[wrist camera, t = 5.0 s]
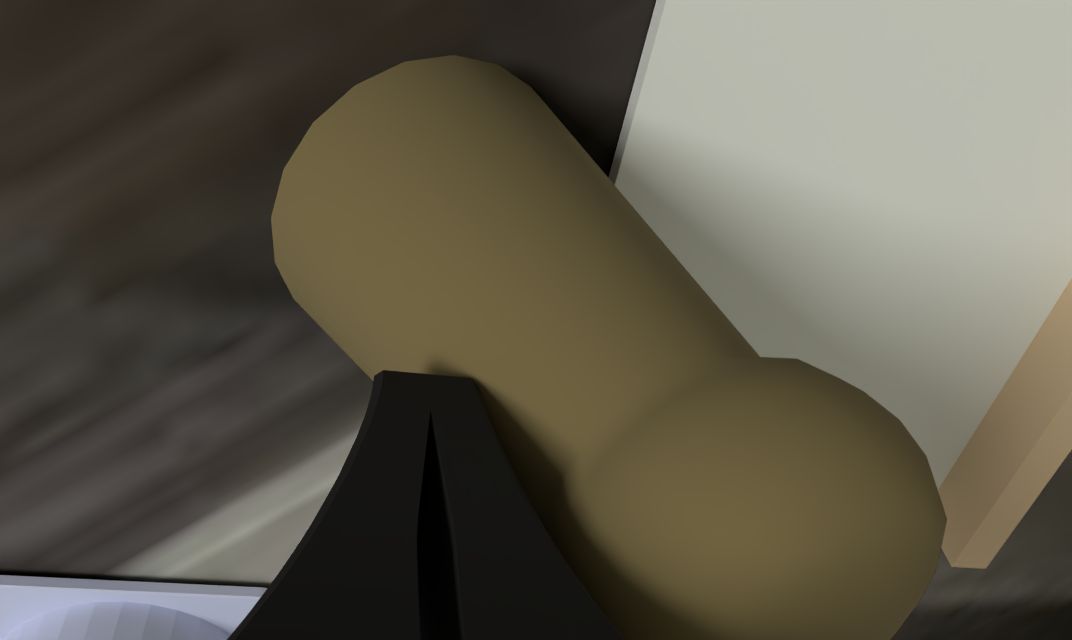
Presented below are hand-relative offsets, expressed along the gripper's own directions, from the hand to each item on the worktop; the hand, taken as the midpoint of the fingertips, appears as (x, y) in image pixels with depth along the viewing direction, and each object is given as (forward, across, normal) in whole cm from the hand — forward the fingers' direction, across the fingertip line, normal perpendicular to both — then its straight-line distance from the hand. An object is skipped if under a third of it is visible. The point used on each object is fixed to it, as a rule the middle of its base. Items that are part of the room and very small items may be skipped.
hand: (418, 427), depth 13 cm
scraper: (+7, -10, 0) cm, 12 cm away
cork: (+6, 0, 0) cm, 6 cm away
